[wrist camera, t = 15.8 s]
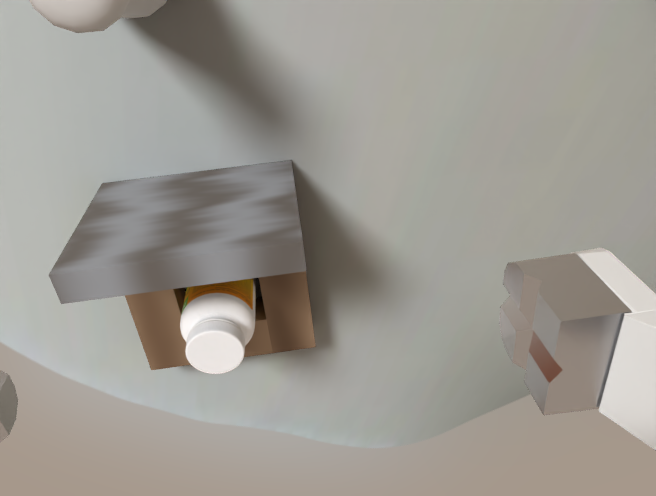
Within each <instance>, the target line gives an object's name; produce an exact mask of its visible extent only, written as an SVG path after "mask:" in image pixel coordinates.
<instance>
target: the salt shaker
mask: <svg viewBox="0 0 656 496" xmlns="http://www.w3.org/2000/svg"><path fill="white" fill-rule="evenodd" d="M29 1H30V3H31V4H32V6H33V8H34V9H35V10H36V11H38V12H39V13H40V14H41V15H42V16H43V17H45V18H46V19H47V20H48V21H49V22H51V23H52V24H53V25H54V26H57V27H61V28H64V29H67V30H70V31H73V32H76V33H84V32H94V31H104V30H105V29H106V28H108V27H109V26H110V25H112V24H113V23H115V22H116V21H117V20H119V19H120V18H121V17H122V18H126V19H127V18H138V17H149V16H150V15H151V14H153V13H154V12H155V11H157V10H158V9H159V8H160V7H162V6H163V5H164V4H166V2H167V0H29Z"/></svg>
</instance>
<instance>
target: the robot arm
mask: <svg viewBox="0 0 656 496" xmlns="http://www.w3.org/2000/svg"><path fill="white" fill-rule="evenodd" d="M503 285H504V287H505V288H506V290H507V291H508V293H509V294H510V296H509V297H508V298H507V299H506V300H505V302H504V303H503V304H502V305H501V306H500V321H499V324H500V330H501V337H502V341H503V344H504V346H505V349H506V351H507V353H508V355H509V357H510V359H511V360H512V362H513V363H515V364H517V365H518V366H520V367H522V368H524V369H525V370H526V374H525V381H524V383H525V385H526V386H527V388H528V390H529V392H530V393H531V395H532V396H533V398H534V400H535V402H536V403H537V405H538V407H539V408H540V410H541V412H542V413H543V415H550V414H557V413H566V412H574V411H582V410H590V409H598V408H599V412H600V413H602V414H603V415H605V416H606V417H608V418H609V419H611V420H612V421H613V422H615V423H616V424H618V425H619V426H621V427H622V428H624V429H625V430H626V431H628V432H629V433H631V434H632V435H634V436H635V437H637V438H638V439H640V440H641V441H642V442H644V443H646V444H647V445H648V446H650V447H651V448H653V449H654V450H656V294H655V293H654V292H653V291H652V290H651V289H650V288H649V287H648V286H646V285H645V284H644V283H643V282H642V281H641V280H640V279H639V278H638V277H637V276H636V275H635V274H634V273H632V272H631V271H630V270H629V269H628V268H627V267H626V266H625V265H624V264H623V263H622V262H621V261H620V260H619V259H617V258H616V257H615V256H614V255H613V254H612V253H611V252H610V251H608V250H606V249H603V248H596V249H590V250H584V251H578V252H572V253H569V254H565V255H558V256H551V257H544V258H537V259H530V260H523V261H516V262H509V263H508V264H507V267H506V269H505V271H504V279H503ZM17 404H18V399H17V394H16V390H15V386H14V384H13V382H12V380H11V379H10V376H9V375H8V374H6V373H5V372H3V371H1V370H0V442H1V441H2V440H4V439H5V438H6V437H7V436H8V435H9V434H10V431H11V429H12V427H13V425H14V422H15V420H16V414H17Z"/></svg>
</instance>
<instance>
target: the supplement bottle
mask: <svg viewBox="0 0 656 496" xmlns="http://www.w3.org/2000/svg"><path fill="white" fill-rule="evenodd" d="M255 302H256V278H252V279H244V280H237V281H229V282H222V283H214V284H207V285H199V286H192V287H187V288H186V294H185V299H184V304H183V309H182V314H181V320H180V330H181V334H182V336H183V338H184V340H185V341H186V351H185V352H186V357H187V360H188V361H189V363H190V364H191V365H192V366H193V367H194V368H196V369H198V370H199V371H202V372H205V373H210V374H221V373H226V372H229V371H231V370H233V369H235V368H236V367H237V366H238V365H239V364H240V363H241V362H242V360H243V358H244V354H245V346H246V345H247V343H248V342H249V341H250V339H251V338H252V336H253V333H254V329H255Z"/></svg>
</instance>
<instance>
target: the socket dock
mask: <svg viewBox="0 0 656 496" xmlns="http://www.w3.org/2000/svg"><path fill="white" fill-rule="evenodd" d="M306 271H307V269H306V261H305V254H304V246H303V238H302V231H301V224H300V217H299V210H298V203H297V196H296V189H295V182H294V175H293V168H292V161H291V160H289V161H280V162H272V163H264V164H256V165H248V166H240V167H232V168H223V169H215V170H207V171H199V172H191V173H183V174H175V175H167V176H158V177H150V178H142V179H134V180H126V181H118V182H110V183H102V185H101V186H100V188H99V190H98V191H97V193H96V195H95V197H94V198H93V200H92V202H91V203H90V205H89V207H88V209H87V210H86V212H85V214H84V215H83V217H82V219H81V221H80V222H79V224H78V226H77V227H76V229H75V231H74V233H73V234H72V236H71V238H70V239H69V241H68V243H67V245H66V246H65V248H64V250H63V251H62V253H61V255H60V257H59V258H58V260H57V262H56V263H55V265H54V267H53V269H52V270H51V272H50V274H49V277H50V279H51V281H52V284H53V286H54V288H55V290H56V293H57V295H58V297H59V300H60V302H61V304H65V303H72V302H80V301H87V300H95V299H102V298H109V297H117V296H124V295H125V297H126V300H127V303H128V306H129V308H130V311H131V314H132V317H133V320H134V322H135V325H136V328H137V331H138V334H139V337H140V339H141V342H142V345H143V348H144V351H145V353H146V356H147V359H148V362H149V365H150V368H151V370H156V369H163V368H170V367H177V366H184V365H191V364H190V363H189V361H188V360H187V357H186V352H185V351H186V341H185V340H184V338H183V336H182V334H181V330H180V320H181V314H182V309H183V304H184V299H185V290H184V287H192V286H199V285H207V284H214V283H222V282H229V281H237V280H244V279H252V278H259V282H260V287H261V293H262V298H260V299H256V302H255V329H254V333H253V336H252V338H251V339H250V341H249V342H248V343H247V345H246V346H245V354H244V357H248V356H255V355H262V354H270V353H277V352H284V351H291V350H298V349H305V348H312V347H316V346H315V338H314V330H313V323H312V315H311V307H310V299H309V291H308V284H307V276H306Z"/></svg>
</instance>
